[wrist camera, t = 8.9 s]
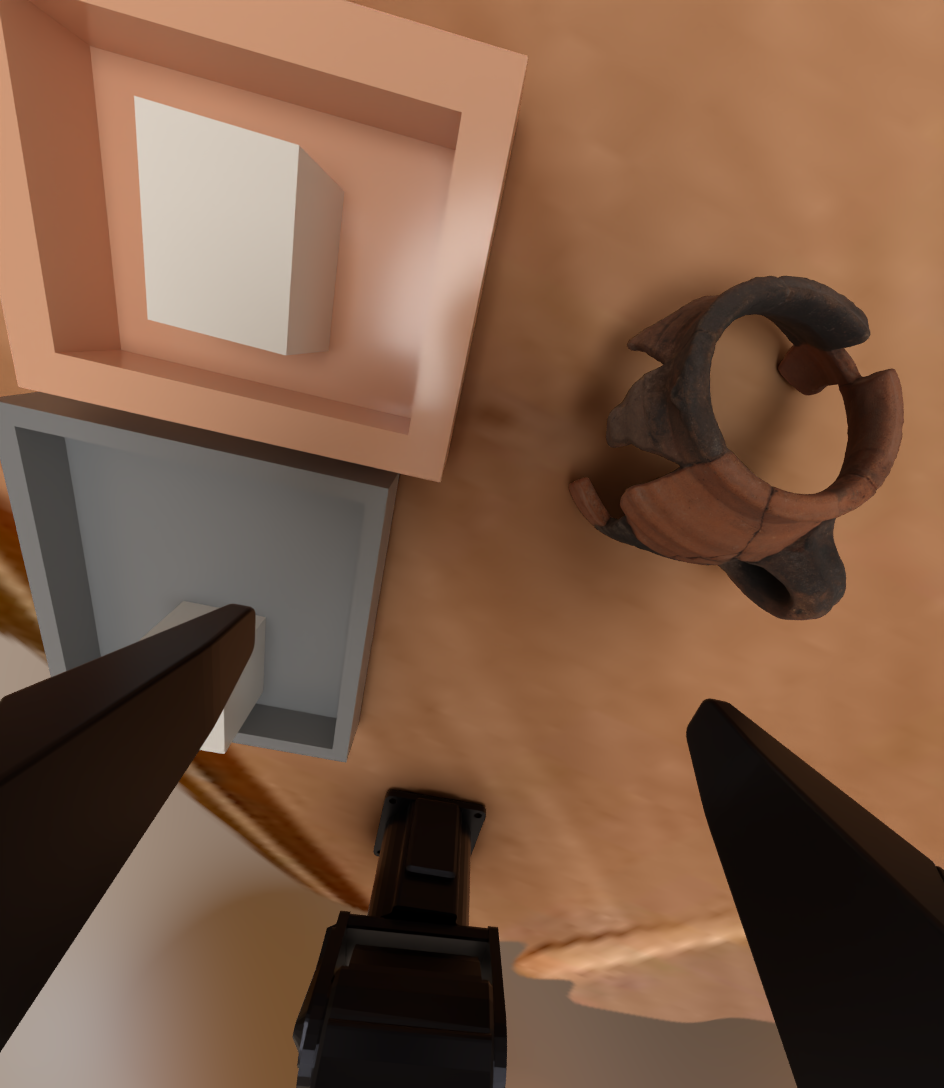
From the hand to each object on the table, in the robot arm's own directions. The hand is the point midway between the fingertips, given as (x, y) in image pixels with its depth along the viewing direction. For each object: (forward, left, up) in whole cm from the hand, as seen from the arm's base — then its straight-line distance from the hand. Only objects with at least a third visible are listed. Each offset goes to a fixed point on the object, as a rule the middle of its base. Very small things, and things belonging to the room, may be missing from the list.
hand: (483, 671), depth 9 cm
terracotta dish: (+6, +9, -12) cm, 16 cm away
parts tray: (-8, +11, -12) cm, 18 cm away
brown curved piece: (+3, -8, -12) cm, 15 cm away
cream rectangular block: (+6, +9, -11) cm, 16 cm away
